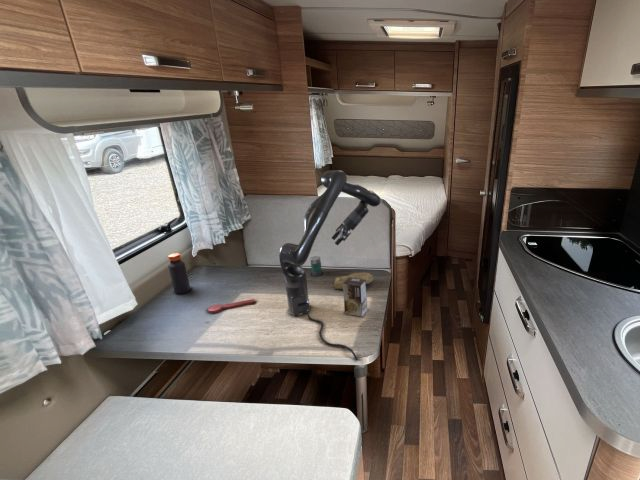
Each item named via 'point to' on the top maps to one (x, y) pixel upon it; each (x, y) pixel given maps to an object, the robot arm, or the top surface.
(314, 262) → the can
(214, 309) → the spoon
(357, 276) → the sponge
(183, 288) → the bottle
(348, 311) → the coffee box
